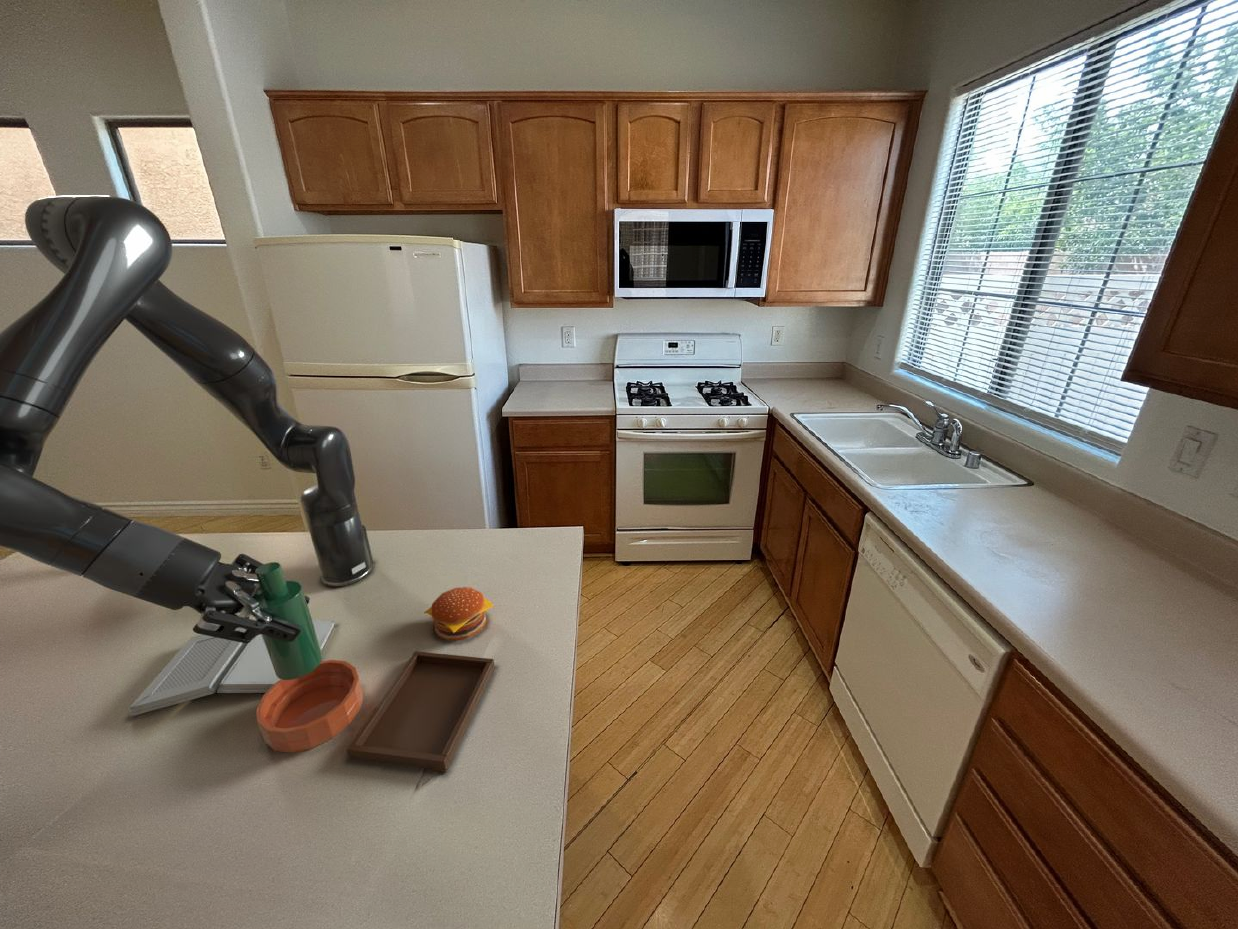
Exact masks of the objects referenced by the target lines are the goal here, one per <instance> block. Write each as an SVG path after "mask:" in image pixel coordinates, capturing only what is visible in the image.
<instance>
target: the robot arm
mask: <svg viewBox="0 0 1238 929" xmlns="http://www.w3.org/2000/svg"><path fill="white" fill-rule="evenodd" d="M24 225H25V229H26V231H27V234H28V237H29V238H30V240H31V242H32V243H33V245H34V246H35V248H36V249H37V250H38V251H39V252H40V254H41V255H42V256H43V257H44V258H45V259H46V260H47V261H48V262H49V263H50V264H51V265H52V266H54V267H55V268H57V270H59V271H60V272H61V273H63V274H64V275H63V276H62V277H61V279H60V280H59V281H58V283H56V285H55V286H53V288H52V289H51V290H50V291H49V292H48V293H47V294H46V295H45V296H44V297H43V298H41V300H39V301H38V302H37V303H36V304H35V305H34V306H32V307H31V308H30V309H28V310H27V311H26V312H25V313H23V314H22V315H21V316H19V317H18V318H17V319H16V320H14V321H13V322H11V324H10V325H8V326H6V327H5V328H4V329H3V330H1V332H0V547H1V548H5V549H9V550H12V551H14V552H17V553H19V554H21V555H24V556H25V557H28V558H30V559H32V560H34V561H37V562H39V563H41V564H43V565H47V566H50V567H53V568H55V569H59V570H62V571H64V572H67V573H70V574H72V575H76V576H79V577H81V576H82V578H85V579H87V580H89V581H92V582H94V583H96V584H98V585H100V586H102V587H104V588H107V589H110V590H111V591H115V592H118V593H120V594H124V595H127V596H130V597H133V598H135V599H139V600H141V601H145V602H147V603H151V604H154V605H157V606H160V607H163V608H166V609H169V610H171V611H179V610H181V609H183V608H184V607H188V608H191V609H193V610H194V611H195V612H197V613H198V614H200V617H199V620H198V621H197V622H196V624H195V625H194V626H193V627H192V631H193V633H195V634H196V635H207V636H212V637H217V638H221V639H226V640H231V641H236V642H241V643H250V642H251V640H252V639H253V638H255V637H256V636H257V635H259V634H263V635H266V636H269V637H272V638H276V639H278V640H281V641H285V642H292V641H294V640H295V638H296V637H297V636H298V635H299V634H300V632H301V629H302V627H301V626H300V625H297V624H294V623H292V622H289V621H286V620H283V619H281V618H278V617H275V616H274V617H273V618H272V616H271V615H269V614H268V613H267V612H265V611H263V610H262V609H260V607H259V602H258V601H256V600H255V599H254V598H252V596H253V595H254V594H255V593H256V592H258V591H259V590H261V587H260V584H259V582H258V579H257V576H256V573H255V571H256V569H257V568H258V567H260V566H262V565H264V564H265V563H262V562H260V561H258V560H257V559H255V558H254V557H253V558H252V557H251V556H249V555H247V554H245V553H239V554H238V555H237V557H235V558H234V559H233V560H232V562H231V563H225V562H221V561H220V560H221V559H222V553H221V552H220V551H219V550H216V549H213V548H211V547H209V546H207V545H203V544H201V543H199V542H196V541H194V540H192V539H189V538H187V537H185V536H181V535H180V534H177V533H175V532H171V531H170V530H167V529H165V528H162V527H160V526H156V525H153V524H151V523H145V522H143V521H140V520H137V519H133V518H131V517H129V516H128V515H127V516H126V515H124V514H122V513H119V512H117V511H114V510H112V509H109V508H107V507H104V506H102V505H99V504H97V503H93V502H91V501H87V500H85V499H82V498H79V497H76V496H72V495H70V494H68V493H66V492H64V491H62V490H60V489H58V488H56V487H54V486H52V485H50V484H48V483H47V482H44V481H42V480H39V479H38V478H35V477H34V475H35V472H36V470H37V468H38V467H37V466H38V464H39V461H40V459H41V456H42V454H43V450H44V447H45V444H46V442H47V441H48V438H49V437H50V435H51V434H52V432H53V431H54V429H55V428H56V426H57V424H58V423H59V421H60V419H61V418H62V416H63V414H64V412H65V410H66V409H67V407H68V405H69V404H70V402H71V399H72V397H73V396H74V394H75V392H76V390H77V388H78V386H79V384H80V382H81V381H82V379H83V377H84V376H85V374H86V372H87V371H88V370H89V369H88V368H89V367H90V366H91V364H92V363H93V361H94V359H95V358H96V357H97V356H98V355H99V353H100V351H101V350H102V348H103V347H104V346H105V344H106V343H107V342H108V340H109V339H110V338H111V337H112V335H113V334H114V333H115V332H116V330H117V329H118V328H119V327H120V326H121V325H122V323H123V322H124V320H125V321H127V323H129V324H130V325H131V326H133V327H134V328H135V329H136V330H137V331H138V332H139V333H140V334H142V335H143V336H144V337H145V338H146V339H147V340H148V341H149V342H150V343H151V344H152V345H154V346H155V348H157V349H159V350H160V351H161V352H162V353H163V354H164V355H166V357H167V358H169V359H170V360H171V361H173V363H174V364H176V365H177V366H179V368H180V369H181V370H182V371H183V372H184V373H185V374H186V375H187V376H188V377H189V378H190V379H191V380H192V381H193V382H195V383H196V384H197V385H198V386H199V387H201V388H202V389H203V390H204V391H205V392H206V393H207V394H209V395H210V396H211V397H212V398H213V399H215V401H217V402H218V403H219V404H221V405H222V406H223V407H224V408H225V409H226V410H227V411H229V413H230V414H232V415H233V417H235V418H236V419H237V420H238V421H239V422H240V423H242V424H243V426H245V427H246V428H247V429H248V430H249V431H250V432H251V433H252V434H253V435H254V436H255V437H256V438H257V439H258V440H259V442H260V443H261V444H262V445H263V446H264V447H265V448H266V450H268V451H269V453H270V454H271V455H272V456H273V458H275V460H276V461H277V462H278V463H280V465H282V466H283V467H284V468H286V469H288V470H290V471H292V472H295V473H303V474H315V475H316V481H317V484H313V485H312V486H310V487H308V488H307V489H305V490H304V491H303V492H301V494H300V503H301V507H302V510H303V514H304V518H305V520H306V524H307V527H308V531H309V535H310V539H311V542H312V546H313V549H314V553H315V555H316V556H315V557H316V560H317V563H318V567H319V571H320V575H321V580H322V583H323V585H326V586H328V587H346V586H349V585H352V584H355V583H358V582H360V581H362V580H363V579H365V578H366V577H367V576H369V575H370V573H371V572H372V569H373V566H372V565H373V564H374V558H373V554H372V549H371V546H370V542H369V537H368V533H367V528H366V526H365V525H364V524H362V520H361V515H360V510H359V507H358V503H357V498H356V493H355V488H356V476H355V470H354V464H353V457H352V452H351V446H350V443H349V440H348V437H347V436H346V434H345V432H343V431H342V429H340V428H339V427H336V426H331V425H330V426H329V425H316V424H315V425H313V424H304V423H301V422H299V421H298V420H297V419H296V418H294V417H293V416H292V415H291V414H290V413H289V412H288V411H287V410H286V409H285V408H284V407H283V406H282V404H281V403H280V401H279V391H278V390H279V389H278V382H277V377H276V374H275V373H274V370H273V369H272V368H271V366H270V365H269V364H268V362H267V361H266V359H264V358H263V357H262V356H261V355H260V353H259V352H258V351H257V350H256V348H255V347H254V346H252V345H251V344H250V342H248V340H247V339H245V337H243V336H242V335H241V334H240V333H238V332H237V331H236V330H234V329H233V328H231V327H230V326H228V325H226V324H225V323H224V322H222V321H220V320H219V319H217V318H215V317H213V316H211V315H210V314H208V313H207V312H205V311H204V310H201V309H200V308H198V307H196V306H195V305H193V304H191V303H190V302H188V301H186V300H185V299H183V298H181V296H179V295H178V294H176V293H175V292H174V291H172V290H171V289H169V287H167V286H166V285H165V284H164V283H163V282H162V281H161V280H160V279H161V277H162V276H163V275H164V274H165V272H166V271H167V269H168V268H169V266H170V264H171V262H172V258H173V250H174V247H173V242H172V238H171V235H170V233H169V231H168V229H167V228H166V226H165V224H164V223H163V222H162V220H161V219H160V218H159V217H158V215H156V214H155V213H154V212H153V211H151V210H150V209H149V208H147V207H146V206H144V205H142V204H140V203H138V202H136V201H134V200H132V199H128V198H125V197H119V196H113V195H112V196H111V195H97V194H96V195H95V194H94V195H54V196H46V197H42V198H39V199H36V200H34V201H33V202H31V203H30V204H29V205H28V206H27V209H26V210H25V213H24ZM305 598H306V602H307V605H309V604H310V597H309V596H307V595H305ZM238 613H239V615H237V614H238ZM250 616H252V617H253V618H257V619H258V620H256V619H251V618H250ZM236 628H244V629H245V630H246V631H245V632H240V631H235V629H236Z"/></svg>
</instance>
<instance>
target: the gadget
mask: <svg viewBox="0 0 1238 929" xmlns="http://www.w3.org/2000/svg"><path fill="white" fill-rule="evenodd" d="M312 621H313V625H314V628H315V631H316V635H317V638H318V641H319V644H320V648H321V651H322V650H323V648H324V646H325V644H326V642H327V641H328V638H329V637H330V634H331V632H332V630H333V629H334V626H335V620H312ZM235 631H240V632H245V631H246V630H245V629H244V628H236V629H235ZM279 680H280V679H279V678H278V677H277V676H276V674H275V671H274V668H273V666H272V663H271V660H270V657H269V655H268V652H267V649H266V646H265V644H264V641H263V638H262V635H261V634H259V635H257V636H256V637H255V638H253V639H252V640H251V642H250V643H241V642H236V641H231V640H226V639H221V638H217V637H212V636H207V635H202V634H198V635H196V636H192V637H190V638H189V639H188V640H187V641H186V642H185V643H184V645H182V647H181V648H180V649H179V650H178V651H177V652H176V654H175V655H174V656H173V657H172V658H171V659H170V660H169V662H168V663H167V664H166V665H165V667H163V668H162V670H161V671H160V672H159V673H158V674H157V675H156V676H155V677H154V679H153V680H152V681H151V682H150V683H149V684H148V685H147V686H146V688H145V689H144V690H143V692H141V694H139V696H138V697H137V698H136V699H135V701H134V702H133V703H132V704H131V705H130V706H129V708H128V709H129V711H130V713H129V715H130V717H135V716H138V715H142V714H145V713H149V712H152V711H156V710H159V709H163V708H166V707H170V706H175V705H178V704H181V703H185V702H188V701H192V700H196V699H199V698H202V697H206V696H209V695H212V694H215V693H217V694H244V693H245V694H249V693H250V694H252V693H253V694H255V693H261V694H263V693H264V694H265V693H266V692H267V691H268V690H269V689H270V688H271V687H272V686H273V685H274V684H275V683H276V682H277V681H279Z"/></svg>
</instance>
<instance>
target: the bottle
mask: <svg viewBox="0 0 1238 929" xmlns="http://www.w3.org/2000/svg"><path fill="white" fill-rule="evenodd" d="M263 564H264V565H262V566H260V567H258V568H257V569H256V571H255V573H256V576H257V579H258V582H259V584H260V587H261V590H259V591H258V592H256V593H255V594H254V595H253V596H252V598H254V599H255V600H256V601H258V602H259V607H260V609H262V610H263V611H265V612H267V613H268V614H269V615H271V616H272V618H273V617H274V616H275V617H278V618H281V619H283V620H286V621H289V622H292V623H294V624H297V625H300V626H301V627H302V629H301V632H300V634H299V635H298V636H297V637H296V638H295V640H294V641H292V642H285V641H281V640H278V639H276V638H272V637H269V636H266V635H263V634H261V635H262V638H263V641H264V644H265V646H266V649H267V652H268V655H269V657H270V660H271V663H272V666H273V668H274V671H275V674H276V676H277V677H278V678H279V679H282V680H292V679H297V678H300V677H302V676H305V675H307V674H308V673H310V672H312V671H313V670H314V669H315V668H316V667H317V666H318V665H319V664H320V663H321V661H323V659H324V655H323V652H322V650H321V648H320V644H319V641H318V638H317V635H316V631H315V628H314V625H313V621H314V620H313V618H312V615H311V612H310V609H309V606H308V605H309V604H308V605H307V602H306V598H305V596H306V595H305V592H304V589H303V586H302V583H300V582H298V581H296V580H286V578H285V575H284V572H283V569H282V566H281V564H280V563H279V562H276V561H273V562H268V563H263ZM254 618H255V617H254ZM254 620H258V619H257V618H255V619H254Z"/></svg>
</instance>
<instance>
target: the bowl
mask: <svg viewBox="0 0 1238 929" xmlns="http://www.w3.org/2000/svg"><path fill="white" fill-rule="evenodd" d="M364 697H365V696H364V691H363V687H362V684H361V681H360V677H359V674H358V671H357V668H356V667H355V666H354V665H352V664H351V663H349V662H347V661H346V660H338V659H326V660H322V661H321V663H320V664H319V665H318V666H317V667H316V668H315V669H314V670H313V671H312V672H310V673H308V674H307V675H305V676H302V677H300V678H297V679H292V680H282V679H280V680H279V681H277V682H276V683H275V684H274V685H273V686H272V687H271V688H270V689H269V690H268V691H267V692H266V693H264V695H262V697H261V699H260V701H259V703H258V705H257V707H256V709H255V714H256V722H257V726H258V728H259V731H260V733H261V736H262V738H263V740H264V743H265V744H266V745H267V746H268V747H270V748H271V749H272V750H273V751H275V752H282V753H290V754H294V753H297V752H302V751H307V750H312V749H314V748H316V747H318V746H320V745H322V744H324V743H326V742H328V741H331V740H332V739H334V738H335V737H337V735H339V734H340V733H341V732H342V731H343V730H345V729H346V728H347V727H349V726H350V725H351V723H352V722H353V721H354V719H355V718H356V716H357V715H358V714H359V712H360V711H361V709H362V705H363V701H364Z"/></svg>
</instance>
